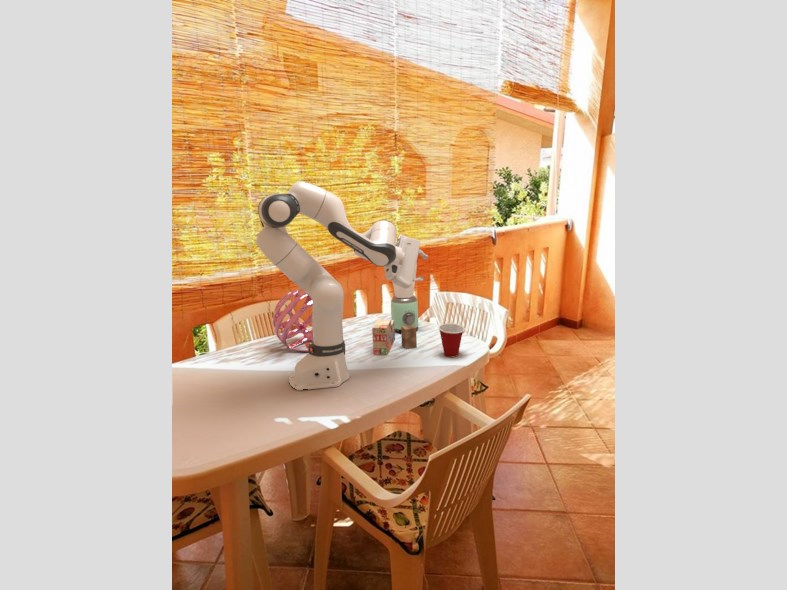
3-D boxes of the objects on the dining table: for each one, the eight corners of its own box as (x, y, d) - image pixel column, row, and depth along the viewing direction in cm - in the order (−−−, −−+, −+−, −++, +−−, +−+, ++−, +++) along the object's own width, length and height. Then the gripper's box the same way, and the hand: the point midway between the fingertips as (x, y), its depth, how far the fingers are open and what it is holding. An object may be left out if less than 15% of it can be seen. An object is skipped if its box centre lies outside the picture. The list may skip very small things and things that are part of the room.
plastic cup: (452, 361, 196) (452, 332, 193) (433, 354, 204) (432, 327, 201) (470, 354, 203) (470, 326, 200) (450, 348, 211) (450, 321, 208)
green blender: (424, 332, 233) (423, 260, 225) (398, 336, 229) (395, 262, 221) (409, 322, 251) (408, 254, 243) (385, 325, 247) (382, 257, 238)
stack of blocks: (381, 338, 227) (380, 313, 224) (395, 339, 226) (394, 313, 223) (373, 355, 206) (371, 327, 204) (387, 355, 206) (386, 327, 203)
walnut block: (406, 349, 212) (405, 329, 210) (401, 345, 216) (401, 326, 214) (416, 347, 213) (416, 327, 211) (412, 344, 218) (411, 324, 216)
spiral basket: (356, 304, 211) (312, 266, 219) (309, 336, 192) (263, 293, 200) (342, 343, 230) (302, 307, 238) (298, 375, 212) (256, 334, 219)
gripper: (395, 236, 195) (426, 247, 199) (385, 283, 188) (417, 294, 192) (401, 230, 189) (433, 242, 193) (390, 278, 182) (424, 290, 186)
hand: (425, 268), depth 192 cm, fingers open, 8 cm apart
